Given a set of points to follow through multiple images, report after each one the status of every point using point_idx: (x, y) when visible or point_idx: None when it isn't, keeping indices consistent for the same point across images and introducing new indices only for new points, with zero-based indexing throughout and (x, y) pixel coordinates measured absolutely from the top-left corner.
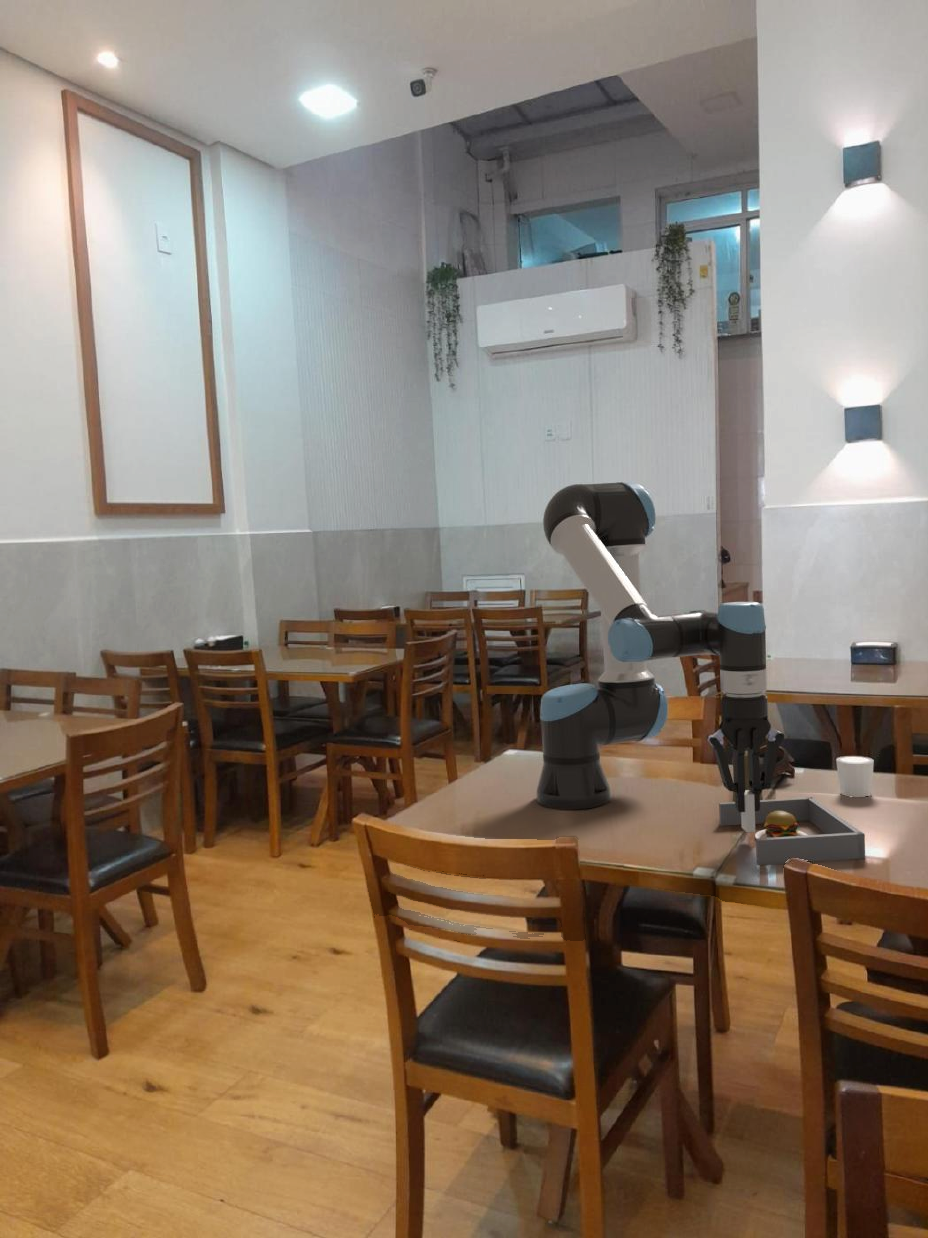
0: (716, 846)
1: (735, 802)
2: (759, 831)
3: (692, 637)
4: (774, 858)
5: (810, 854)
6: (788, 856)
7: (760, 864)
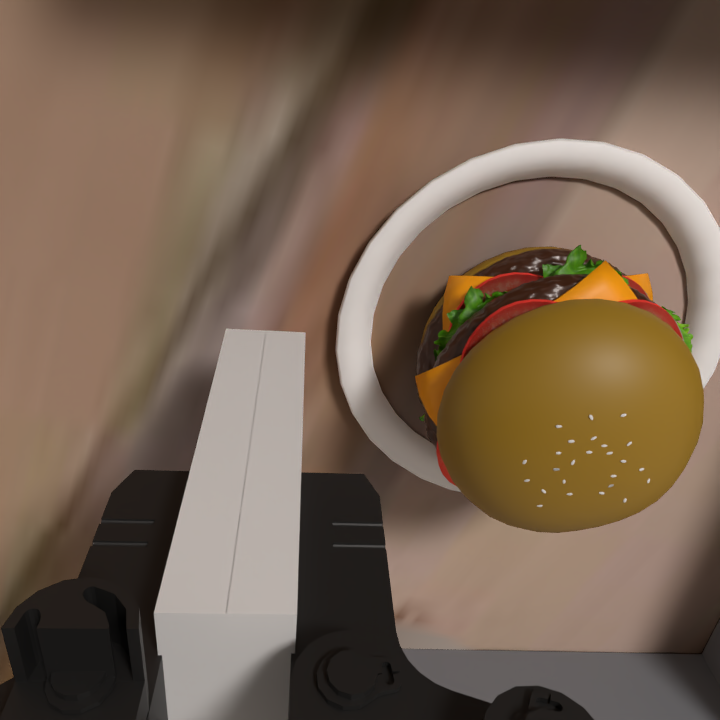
0: (7, 367)
1: (94, 545)
2: (436, 186)
3: None
4: None
5: None
6: None
7: None
